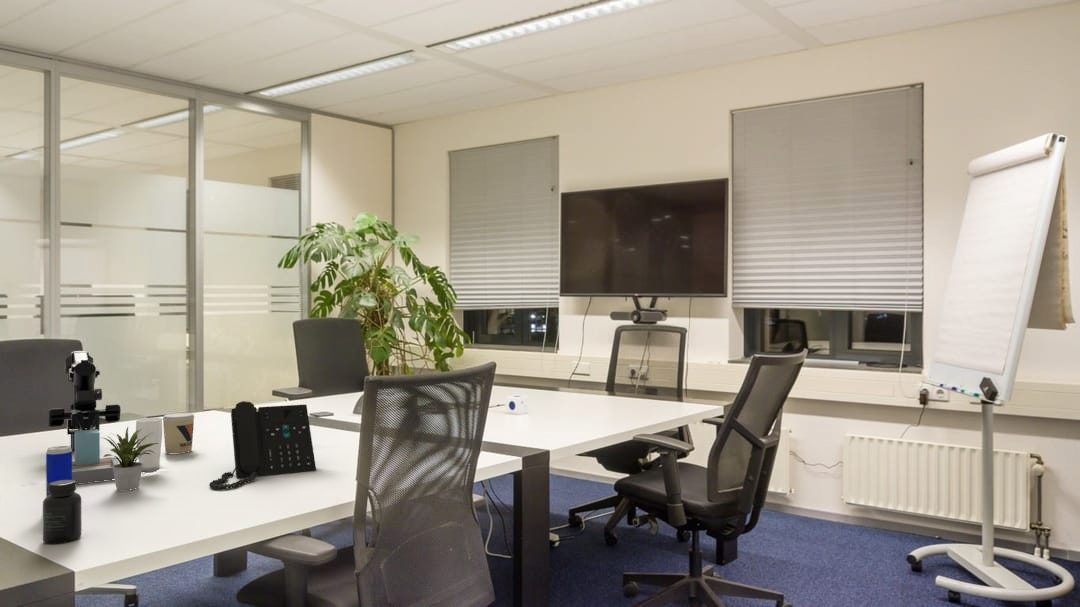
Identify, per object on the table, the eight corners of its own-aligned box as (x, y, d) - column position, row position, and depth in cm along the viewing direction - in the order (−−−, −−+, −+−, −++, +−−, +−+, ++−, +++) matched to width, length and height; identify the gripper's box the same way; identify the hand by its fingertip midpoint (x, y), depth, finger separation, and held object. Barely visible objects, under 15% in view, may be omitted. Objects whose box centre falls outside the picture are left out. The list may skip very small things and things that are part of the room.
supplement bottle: (59, 533, 161) (58, 478, 161) (89, 534, 160) (88, 478, 160) (34, 544, 154) (34, 486, 154) (65, 545, 154) (65, 486, 153)
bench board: (60, 467, 222) (60, 462, 222) (111, 462, 230) (111, 457, 230) (62, 475, 213) (62, 469, 213) (114, 469, 220) (114, 464, 220)
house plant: (111, 499, 188) (110, 434, 187) (82, 492, 195) (81, 429, 195) (165, 487, 200) (165, 426, 200) (136, 480, 207) (136, 421, 207)
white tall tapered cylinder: (167, 469, 220) (167, 418, 220) (148, 474, 214) (148, 422, 214) (149, 467, 223) (149, 417, 223) (130, 472, 216) (130, 420, 216)
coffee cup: (181, 455, 240) (181, 417, 240) (156, 453, 242) (156, 416, 242) (200, 449, 249) (200, 413, 249) (175, 448, 251) (175, 412, 251)
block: (74, 461, 224) (74, 431, 224) (98, 458, 227) (97, 429, 227) (75, 465, 218) (75, 434, 218) (99, 463, 222) (99, 432, 221)
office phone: (210, 492, 196) (210, 415, 195) (202, 470, 221) (202, 401, 220) (324, 480, 209) (324, 407, 209) (304, 460, 234) (304, 395, 234)
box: (61, 475, 213) (61, 463, 213) (114, 469, 220) (114, 457, 220) (63, 486, 201) (62, 473, 201) (119, 479, 208) (119, 466, 208)
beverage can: (54, 508, 180) (53, 445, 180) (76, 507, 181) (76, 445, 181) (41, 514, 175) (41, 450, 175) (64, 513, 176) (64, 449, 175)
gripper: (48, 382, 225) (49, 424, 216) (119, 378, 235) (123, 418, 226) (48, 405, 232) (49, 447, 222) (117, 400, 242) (121, 440, 233)
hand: (86, 437), depth 226 cm, fingers closed, pressing on block
